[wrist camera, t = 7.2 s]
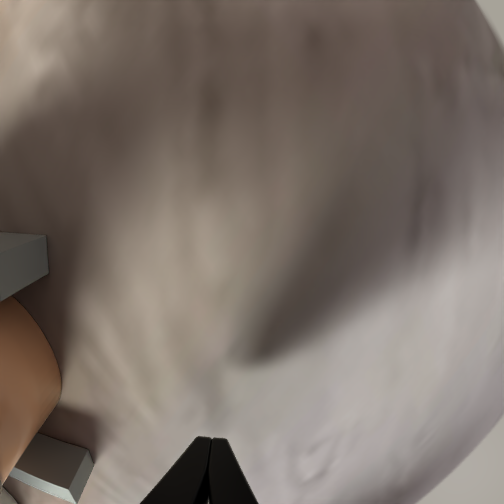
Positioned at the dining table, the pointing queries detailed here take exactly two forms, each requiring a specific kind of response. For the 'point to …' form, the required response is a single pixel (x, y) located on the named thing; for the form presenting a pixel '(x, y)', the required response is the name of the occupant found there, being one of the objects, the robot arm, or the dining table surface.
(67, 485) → the lane
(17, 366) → the jar terracotta
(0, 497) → the supplement can
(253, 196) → the dining table surface
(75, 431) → the dining table surface
